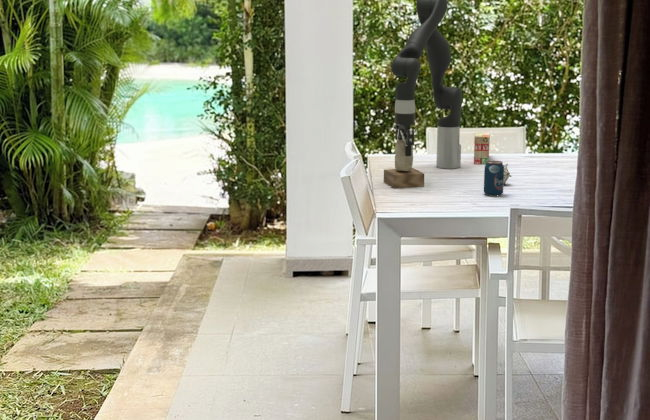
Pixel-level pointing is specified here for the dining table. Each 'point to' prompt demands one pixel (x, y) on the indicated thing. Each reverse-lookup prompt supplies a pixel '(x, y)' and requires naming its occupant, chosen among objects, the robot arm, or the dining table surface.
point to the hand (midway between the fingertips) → (404, 154)
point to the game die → (506, 174)
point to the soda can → (493, 178)
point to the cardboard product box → (481, 148)
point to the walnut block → (403, 178)
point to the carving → (403, 157)
